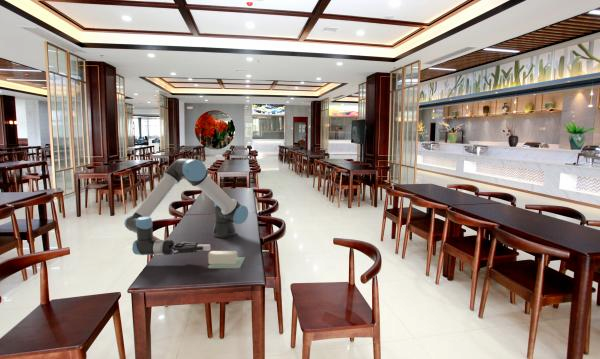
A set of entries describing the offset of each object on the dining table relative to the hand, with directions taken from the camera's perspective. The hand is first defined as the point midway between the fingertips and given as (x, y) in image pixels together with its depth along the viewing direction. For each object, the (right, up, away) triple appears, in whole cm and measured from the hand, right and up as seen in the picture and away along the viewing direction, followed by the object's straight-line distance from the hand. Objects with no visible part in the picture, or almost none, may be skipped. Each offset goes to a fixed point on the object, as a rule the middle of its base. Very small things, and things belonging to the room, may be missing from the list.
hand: (209, 247), depth 178 cm
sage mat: (+9, -8, +1) cm, 12 cm away
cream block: (0, -5, +1) cm, 5 cm away
